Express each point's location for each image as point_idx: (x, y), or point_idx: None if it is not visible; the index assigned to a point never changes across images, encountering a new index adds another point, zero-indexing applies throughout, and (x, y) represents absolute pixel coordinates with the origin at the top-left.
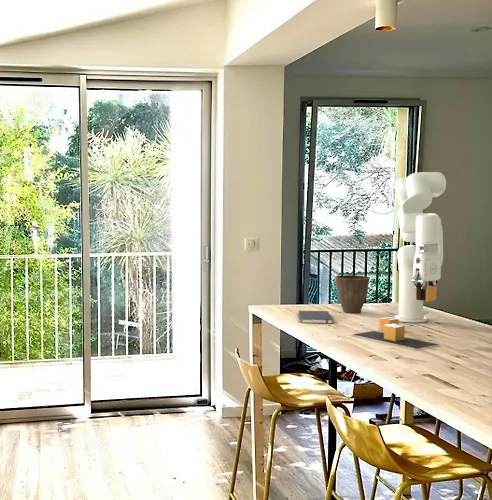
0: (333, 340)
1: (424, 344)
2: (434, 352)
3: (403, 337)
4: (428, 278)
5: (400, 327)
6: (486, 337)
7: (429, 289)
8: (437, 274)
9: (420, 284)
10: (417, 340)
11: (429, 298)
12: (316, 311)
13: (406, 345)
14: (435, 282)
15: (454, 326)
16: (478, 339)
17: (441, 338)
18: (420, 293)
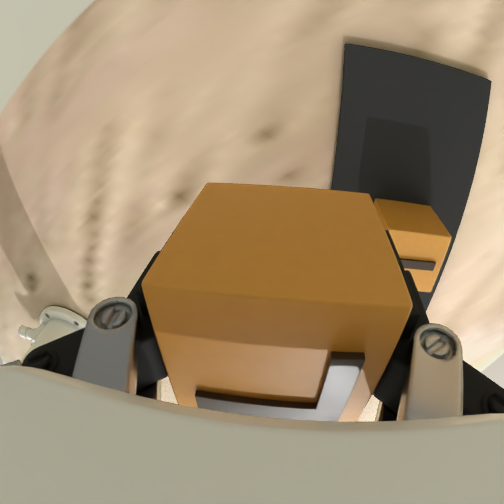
0: (493, 329)
1: (401, 89)
2: (469, 13)
3: (384, 203)
4: (480, 472)
5: (419, 230)
6: (37, 62)
7: (363, 276)
8: (19, 496)
9: (466, 402)
10: (347, 152)
11: (342, 202)
12: None
13: (470, 136)
14: (87, 361)
15: (16, 230)
16: (81, 44)
17: (187, 127)
18: (419, 305)
